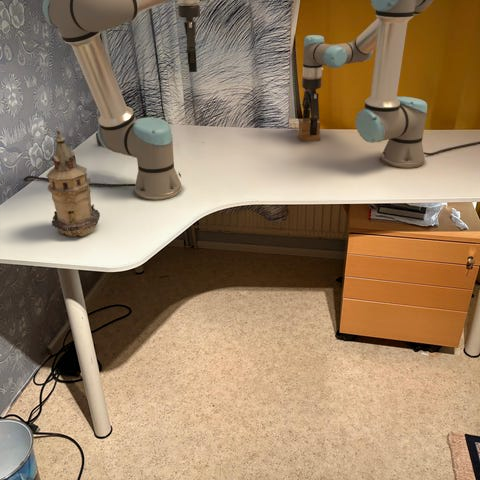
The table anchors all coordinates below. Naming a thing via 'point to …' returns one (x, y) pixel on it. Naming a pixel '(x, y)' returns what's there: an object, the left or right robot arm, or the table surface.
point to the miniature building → (70, 193)
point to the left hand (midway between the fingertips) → (192, 67)
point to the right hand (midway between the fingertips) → (309, 129)
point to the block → (307, 130)
